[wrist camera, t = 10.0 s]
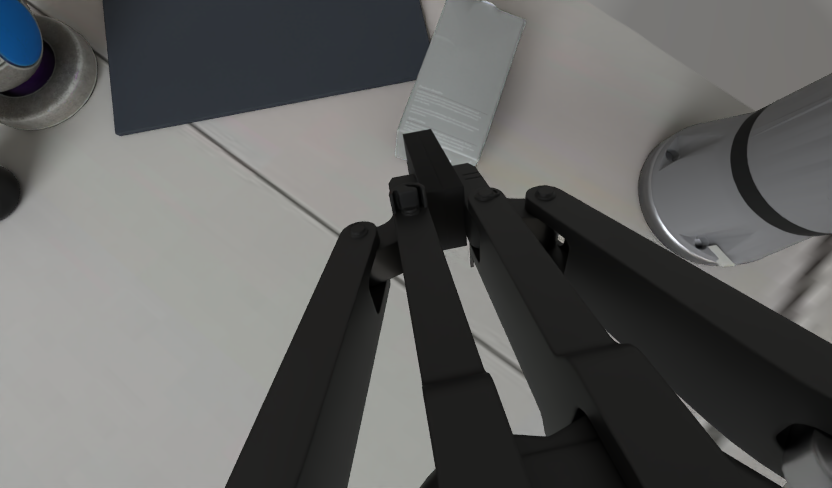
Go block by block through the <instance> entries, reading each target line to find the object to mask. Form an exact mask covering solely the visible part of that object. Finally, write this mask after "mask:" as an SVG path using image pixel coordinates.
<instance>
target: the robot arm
mask: <svg viewBox="0 0 832 488" xmlns="http://www.w3.org/2000/svg"><path fill="white" fill-rule="evenodd" d="M403 140H404V146H405V152H406V158H407V164H408V171H409V175H405V176H400V177H395V178H392V179H391V181H390V182H389V190H390V192H389V197H390V202H391V207H392V211H393V216H392V218H391V219H390V220H389V221H388V222H386V223H385V224H383V225H381V226H379V227H376V226H375V225H374V224H373V223H371V222H363V221H362V222H356V223H354V224H351V225H349V226H347V227H346V228H344V229H343V231H342V232H341V234H340V236H339V238H338V240H337V242H336V245H335V247H334V249H333V251H332V253H331V256H330V258H329V260H328V262H327V264H326V266H325V269H324V271H323V273H322V275H321V277H320V280H319V282H318V284H317V286H316V288H315V291H314V293H313V295H312V297H311V299H310V302H309V304H308V306H307V308H306V310H305V313H304V315H303V317H302V319H301V321H300V324H299V326H298V328H297V330H296V332H295V335H294V337H293V339H292V341H291V343H290V346H289V348H288V350H287V352H286V354H285V357H284V359H283V361H282V363H281V365H280V368H279V370H278V372H277V374H276V376H275V378H274V381H273V383H272V385H271V387H270V389H269V392H268V394H267V396H266V398H265V400H264V403H263V405H262V407H261V409H260V411H259V414H258V416H257V418H256V420H255V422H254V425H253V427H252V429H251V431H250V433H249V436H248V438H247V440H246V442H245V444H244V447H243V449H242V451H241V453H240V455H239V458H238V460H237V462H236V464H235V466H234V469H233V471H232V473H231V475H230V477H229V479H228V482H227V484H226V486H225V488H347V486H348V482H349V477H350V472H351V468H352V463H353V458H354V453H355V449H356V444H357V439H358V435H359V430H360V425H361V420H362V416H363V411H364V406H365V402H366V397H367V392H368V387H369V383H370V378H371V373H372V369H373V364H374V359H375V354H376V350H377V345H378V340H379V336H380V331H381V326H382V321H383V317H384V312H385V307H386V303H387V298H388V293H389V288H390V279H391V278H393V277H395V276H398V275H400V274H402V273H403V275H404V280H405V286H406V292H407V298H408V304H409V309H410V315H411V321H412V327H413V333H414V338H415V344H416V350H417V356H418V362H419V367H420V373H421V379H422V389H423V396H424V402H425V408H426V414H427V420H428V426H429V432H430V438H431V444H432V450H433V456H434V461H435V467H436V469H435V470H434V471H433V472H432V473H431V474H430V475H429V476H428V477H427V479H426V480H425V481H424V483H423V484H422V485H421V487H420V488H832V344H831V343H829V342H827V341H826V340H824V339H822V338H820V337H818V336H817V335H815V334H813V333H811V332H810V331H808V330H806V329H804V328H803V327H801V326H799V325H797V324H796V323H794V322H792V321H790V320H789V319H787V318H785V317H783V316H782V315H780V314H778V313H776V312H775V311H773V310H771V309H769V308H768V307H766V306H764V305H762V304H761V303H759V302H757V301H755V300H754V299H752V298H750V297H748V296H747V295H745V294H743V293H741V292H740V291H738V290H736V289H734V288H732V287H731V286H729V285H727V284H725V283H724V282H722V281H720V280H718V279H717V278H715V277H713V276H711V275H710V274H708V273H706V272H704V271H703V270H701V269H699V268H697V267H696V266H694V265H692V264H690V263H689V262H687V261H685V260H683V259H682V258H680V257H678V256H676V255H675V254H673V253H671V252H669V251H668V250H666V249H664V248H662V247H661V246H659V245H657V244H655V243H654V242H652V241H650V240H648V239H646V238H645V237H643V236H641V235H639V234H638V233H636V232H634V231H632V230H631V229H629V228H627V227H625V226H624V225H622V224H620V223H618V222H617V221H615V220H613V219H611V218H610V217H608V216H606V215H604V214H603V213H601V212H599V211H597V210H596V209H594V208H592V207H590V206H589V205H587V204H585V203H583V202H582V201H580V200H578V199H576V198H575V197H573V196H571V195H569V194H568V193H566V192H564V191H562V190H560V189H558V188H556V187H552V186H547V185H544V186H543V185H542V186H537V187H533V188H531V189H529V190H528V191H527V192H526V197H525V199H510V198H506V197H505V195H504V194H503V193H502V192H501V191H500V190H498V189H495V188H490V187H489V186H488V184H487V183H486V181H485V180H484V179H483V177H482V176H481V174H480V173H479V172H478V170H477V169H476V167H475V166H473V165H471V164H469V163H464V164H458V165H453V166H452V164H451V163H450V161H449V159H448V158H447V156H446V154H445V152H444V151H443V149H442V147H441V145H440V144H439V142H438V140H437V138H436V137H435V135H434V133H433V131H432V130H431V129H427V130H421V131H416V132H411V133H405V134H403ZM639 201H640V206H641V209H642V212H643V215H644V218H645V220H646V222H647V224H648V225H649V227H650V229H651V230H652V232H653V233H654V234H655V236H656V237H657V238H658V239H659V240H660V241H661V242H662V243H663V244H664V245H665V246H666V247H667V248H669V249H670V250H671V251H673V252H674V253H676V254H677V255H679V256H681V257H683V258H685V259H687V260H690V261H692V262H695V263H699V264H704V265H713V266H721V267H729V266H736V265H735V264H745V263H750V262H754V261H757V260H759V259H762V258H764V257H766V256H768V255H771V254H773V253H776V252H778V251H780V250H783V249H785V248H787V247H790V246H792V245H795V244H797V243H799V242H802V241H804V240H807V239H809V238H811V237H814V236H821V235H829V234H832V73H831V74H829V75H827V76H825V77H823V78H821V79H819V80H817V81H815V82H813V83H811V84H809V85H807V86H805V87H804V88H801V89H800V90H797V91H795V92H793V93H792V94H789V95H788V96H786V97H784V98H782V99H780V100H777V101H776V102H774V103H772V104H770V105H768V106H766V107H764V108H762V109H760V110H758V111H756V112H753V113H748V114H743V115H738V116H734V117H729V118H724V119H720V120H715V121H710V122H706V123H700V124H696V125H693V126H690V127H687V128H685V129H683V130H681V131H679V132H678V133H676V134H674V135H673V136H671V137H669V138H667V139H666V140H664V141H663V142H661V143H660V144H659V145H658V146H657V147H656V148H655V149H654V150H653V151H652V152H651V153H650V155H649V156H648V158H647V159H646V161H645V163H644V165H643V168H642V170H641V174H640V179H639ZM558 234H560V235H561V236H562V237H564V238H565V241H564V244H563V243H561V242H560V241H559V240H558ZM466 235H467V237H468V240H469V242H470V264H471V267H474V264H473V263H475V265H476V267H477V269H478V272H479V274H480V276H481V278H482V281H483V283H484V285H485V287H486V290H487V292H488V294H489V296H490V299H491V301H492V303H493V305H494V308H495V310H496V312H497V315H498V317H499V319H500V321H501V324H502V326H503V328H504V330H505V333H506V335H507V337H508V339H509V342H510V344H511V346H512V348H513V351H514V353H515V355H516V357H517V360H518V362H519V364H520V367H521V369H522V371H523V373H524V376H525V378H526V380H527V382H528V385H529V387H530V389H531V391H532V394H533V396H534V398H535V400H536V403H537V405H538V407H539V410H540V412H541V416H542V419H543V425H544V430H545V434H546V436H528V435H513V433H512V431H511V428H510V425H509V422H508V420H507V417H506V414H505V411H504V409H503V406H502V403H501V400H500V397H499V395H498V392H497V389H496V387H495V384H494V382H493V379H492V377H491V376H490V374H489V373H487V372H486V371H485V370H484V367H483V365H482V362H481V359H480V356H479V353H478V350H477V348H476V345H475V342H474V339H473V336H472V333H471V330H470V327H469V324H468V322H467V319H466V316H465V313H464V310H463V307H462V304H461V301H460V298H459V296H458V293H457V290H456V287H455V284H454V281H453V278H452V275H451V272H450V270H449V267H448V264H447V261H446V258H445V255H444V252H443V250H447V249H452V248H457V247H462V246H467V238H466ZM606 331H607V332H609V333H610V334H611V335H612V336H613V337H614V338H615V339H616V340H617V341H619V342H620V343H621V344H619V343H617V342H615V341H614V340H613V339H612V338H611V337H610V336H609V334H608V333H607V332H606ZM676 394H677V395H679V396H680V397H681V398H682V399H683V400H684V401H685V402H686V403H687V404H689V405H690V406H691V407H692V408H693V409H694V410H695V411H696V412H697V413H699V414H700V415H701V416H702V417H703V418H704V419H705V420H706V421H707V422H709V423H710V424H711V425H712V426H713V427H715V428H716V429H717V430H718V431H719V432H721V433H722V434H723V435H724V436H725V437H726V438H728V439H729V440H730V441H731V442H733V443H734V444H735V445H737V446H738V447H739V448H741V449H742V450H743V451H745V452H746V453H747V454H749V455H750V456H751V457H753V458H754V459H755V460H757V461H758V462H760V463H761V464H763V465H764V466H766V467H767V468H769V469H770V470H772V471H773V472H775V473H776V474H778V475H779V476H781V477H782V478H784V479H785V480H786V481H787V483H786V484H785V485H784V486H783V487H781V486H780V485H778V484H776V483H775V482H773V481H771V480H770V479H768V478H766V477H765V476H763V475H761V474H759V473H758V472H756V471H754V470H753V469H751V468H749V467H748V466H746V465H744V464H743V463H741V462H739V461H738V460H736V459H734V458H733V457H731V456H729V455H728V454H726V453H724V452H723V451H722V450H721V449H720V448H719V447H718V445H717V444H716V443H715V442H714V440H713V439H712V438H711V437H710V435H709V434H708V433H707V432H706V431H705V429H704V428H703V427H702V426H701V424H700V423H699V422H698V421H697V419H696V418H695V417H694V416H693V414H692V413H691V412H690V411H689V409H688V408H687V407H686V406H685V404H684V403H683V402H682V401H681V400H680V398H679V397H678V396H677V395H676Z"/></svg>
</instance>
